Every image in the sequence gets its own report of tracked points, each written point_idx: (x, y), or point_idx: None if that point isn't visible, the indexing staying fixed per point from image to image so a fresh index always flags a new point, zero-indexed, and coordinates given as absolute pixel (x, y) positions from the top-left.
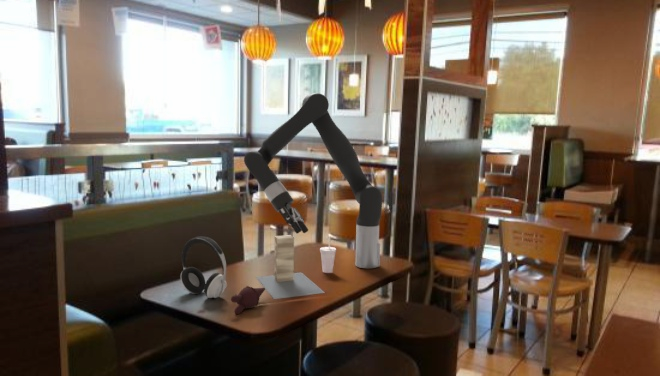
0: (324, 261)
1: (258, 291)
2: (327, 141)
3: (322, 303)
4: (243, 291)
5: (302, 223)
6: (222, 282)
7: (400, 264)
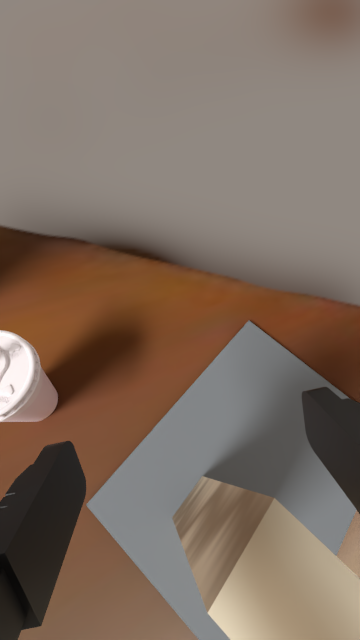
0: (45, 392)
1: None
2: None
3: (304, 305)
4: None
5: (20, 551)
6: None
7: None
